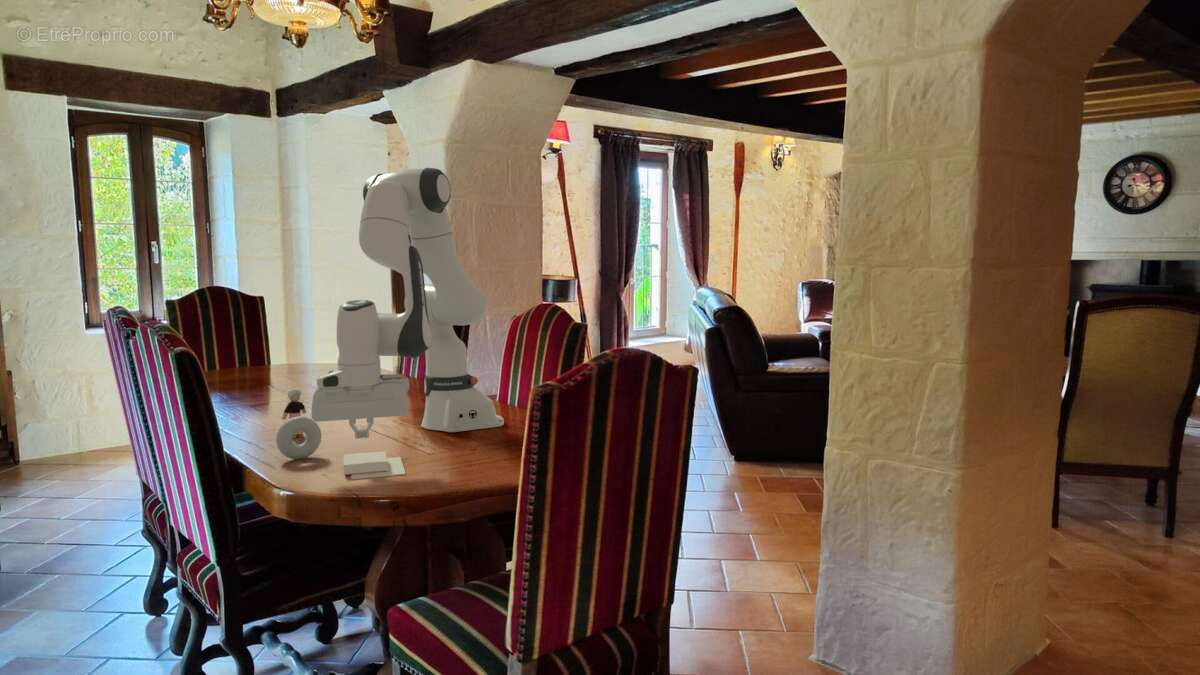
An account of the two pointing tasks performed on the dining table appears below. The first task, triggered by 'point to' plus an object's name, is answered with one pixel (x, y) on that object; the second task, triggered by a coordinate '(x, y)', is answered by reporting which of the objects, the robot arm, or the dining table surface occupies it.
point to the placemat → (393, 470)
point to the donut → (287, 432)
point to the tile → (365, 463)
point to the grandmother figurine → (294, 408)
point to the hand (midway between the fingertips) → (361, 438)
